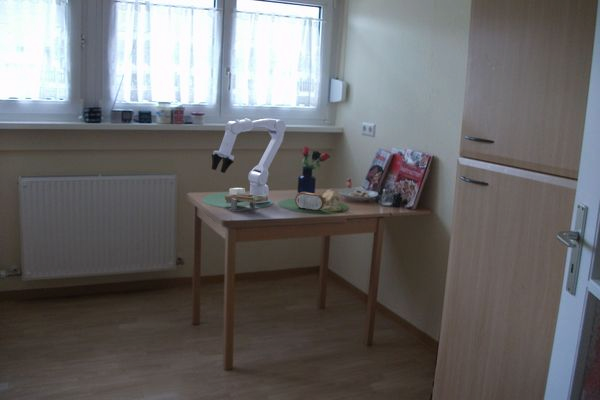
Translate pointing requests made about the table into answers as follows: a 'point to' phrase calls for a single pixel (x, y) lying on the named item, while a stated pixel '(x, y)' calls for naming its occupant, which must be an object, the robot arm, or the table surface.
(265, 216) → the table surface
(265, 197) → the tan wooden tray
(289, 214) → the table surface
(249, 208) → the stand
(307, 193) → the tin
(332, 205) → the ceramic model
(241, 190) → the block
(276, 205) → the table surface
